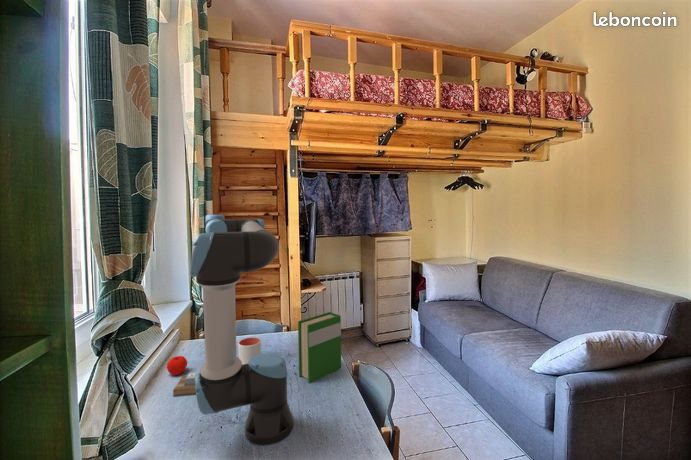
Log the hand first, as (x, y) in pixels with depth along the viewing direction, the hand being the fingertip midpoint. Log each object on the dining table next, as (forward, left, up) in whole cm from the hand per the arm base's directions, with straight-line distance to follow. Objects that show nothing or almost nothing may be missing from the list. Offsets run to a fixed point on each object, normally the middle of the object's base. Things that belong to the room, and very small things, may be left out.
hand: (218, 305), depth 133 cm
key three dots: (-8, +8, -29) cm, 32 cm away
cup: (+10, -11, -31) cm, 34 cm away
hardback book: (-5, -43, -31) cm, 53 cm away
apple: (+5, +19, -31) cm, 36 cm away
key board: (-8, 0, -30) cm, 31 cm away
